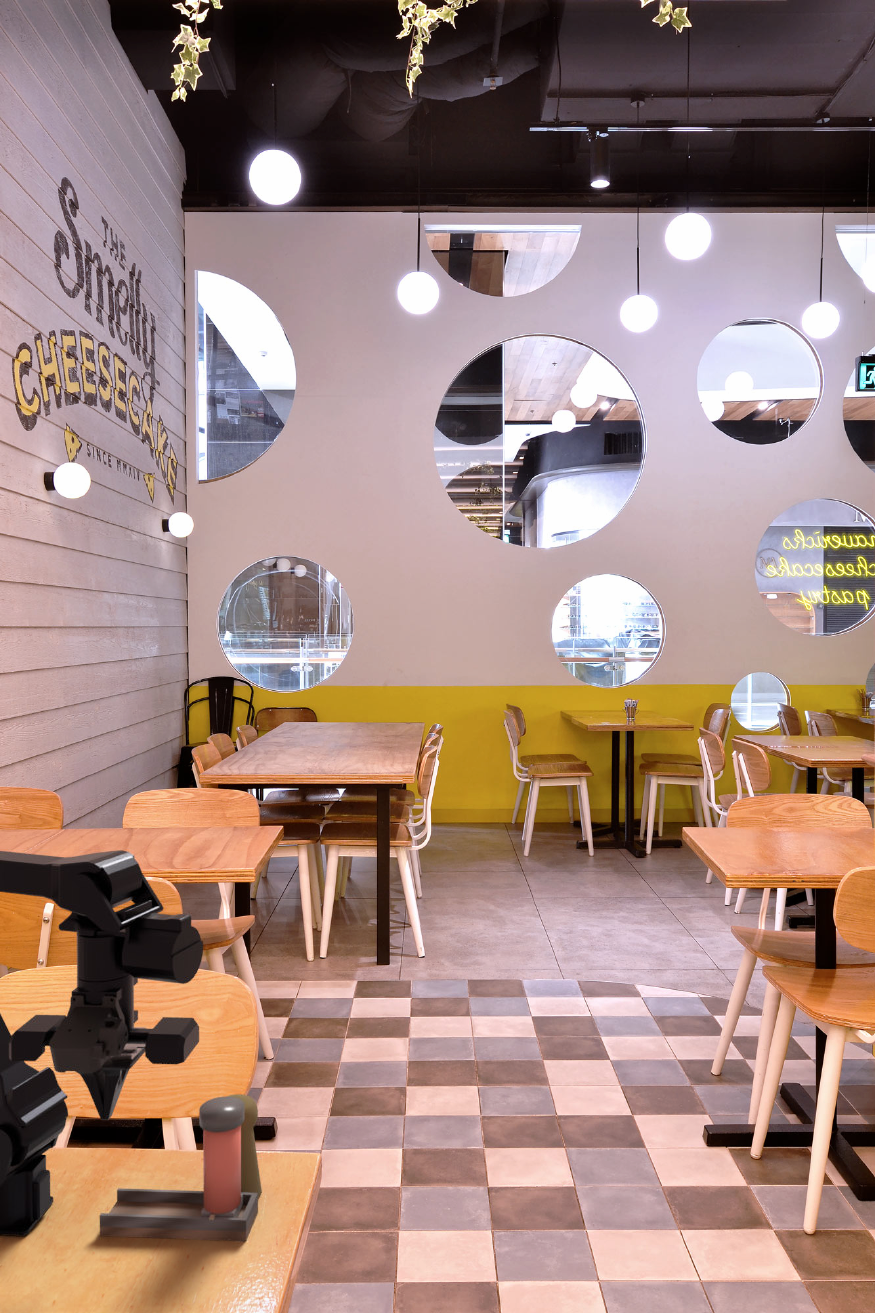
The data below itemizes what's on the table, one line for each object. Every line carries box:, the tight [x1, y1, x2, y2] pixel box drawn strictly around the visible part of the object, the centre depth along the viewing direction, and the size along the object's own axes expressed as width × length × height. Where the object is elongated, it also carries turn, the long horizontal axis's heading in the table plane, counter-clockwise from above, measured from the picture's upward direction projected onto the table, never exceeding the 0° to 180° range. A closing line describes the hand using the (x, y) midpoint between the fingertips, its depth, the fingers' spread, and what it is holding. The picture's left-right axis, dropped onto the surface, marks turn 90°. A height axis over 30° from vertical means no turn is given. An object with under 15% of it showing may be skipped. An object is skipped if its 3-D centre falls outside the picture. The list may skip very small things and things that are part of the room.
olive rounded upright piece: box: [225, 1093, 263, 1200], centre depth 107 cm, size 6×6×11 cm
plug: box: [198, 1096, 244, 1218], centre depth 101 cm, size 5×5×12 cm
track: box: [99, 1187, 259, 1242], centre depth 101 cm, size 16×5×2 cm, turn 87°
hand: (106, 1118), depth 99 cm, fingers closed
